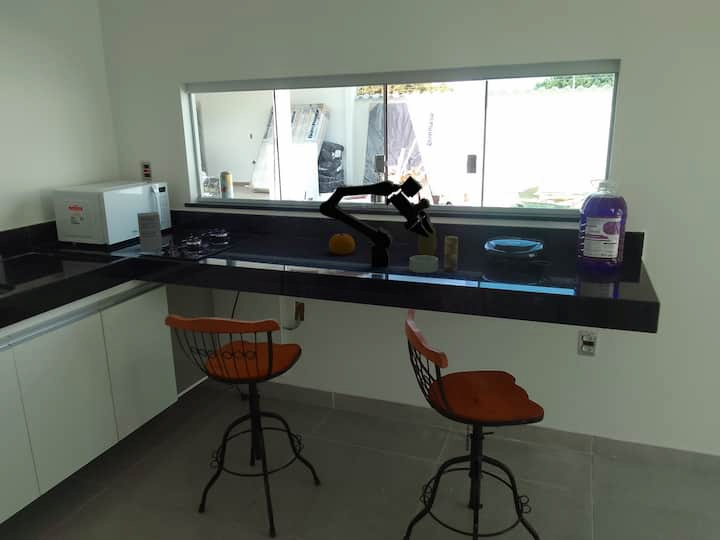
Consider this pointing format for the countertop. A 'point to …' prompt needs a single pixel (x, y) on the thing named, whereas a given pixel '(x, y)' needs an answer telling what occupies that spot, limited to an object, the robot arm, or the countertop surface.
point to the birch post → (451, 253)
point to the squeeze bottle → (427, 242)
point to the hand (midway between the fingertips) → (431, 234)
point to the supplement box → (149, 231)
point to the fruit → (341, 244)
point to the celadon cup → (423, 264)
